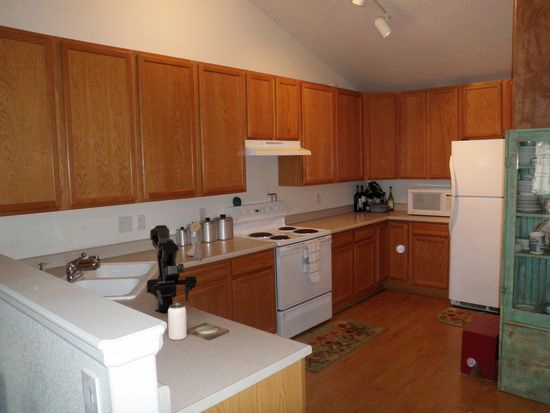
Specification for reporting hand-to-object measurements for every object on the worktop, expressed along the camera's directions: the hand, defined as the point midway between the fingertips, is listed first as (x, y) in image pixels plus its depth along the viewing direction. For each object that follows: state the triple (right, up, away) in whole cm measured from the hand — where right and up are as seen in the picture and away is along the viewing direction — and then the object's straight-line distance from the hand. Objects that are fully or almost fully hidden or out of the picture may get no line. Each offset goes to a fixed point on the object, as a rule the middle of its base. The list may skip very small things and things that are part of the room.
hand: (174, 303), depth 167 cm
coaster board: (+12, -11, +1) cm, 17 cm away
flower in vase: (-19, +1, +150) cm, 151 cm away
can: (+2, -12, -4) cm, 13 cm away
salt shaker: (-15, 0, +135) cm, 136 cm away
